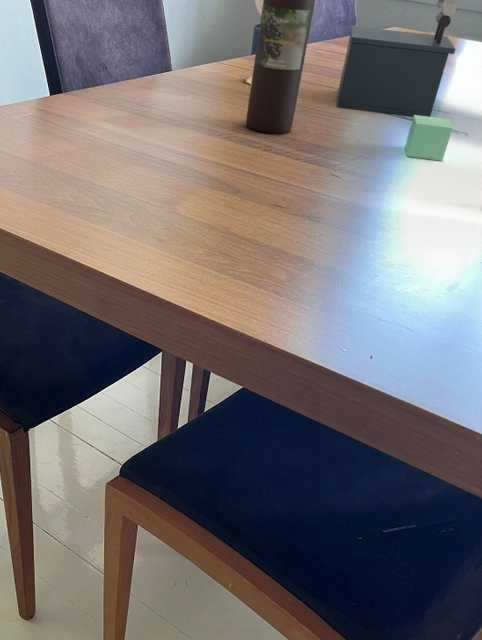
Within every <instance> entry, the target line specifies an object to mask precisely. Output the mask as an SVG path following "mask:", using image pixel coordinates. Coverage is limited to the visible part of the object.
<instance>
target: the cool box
mask: <svg viewBox="0 0 482 640" xmlns="http://www.w3.org/2000/svg"><path fill="white" fill-rule="evenodd" d="M448 57H449V54H447V53H439V52H430V51H421V50H413V49H404V48H395V47H387V46H378V45H369V44H360V43H352V42H351V33H350V34H349V38H348V44H347V48H346V53H345V58H344V62H343V66H342V71H341V77H340V81H339V86H338V89H337V92H338V93H337V104H336V107H337V108H344V109H352V110H360V111H367V112H375V113H383V114H391V115H398V116H405V117H406V116H407V117H413V116H414V115H419V116H427V117H432V116H431V115H432V113H433V110H434V105H435V102H436V99H437V95H438V93H439V89H440V85H441V82H442V79H443V76H444V71H445V67H446V65H447V62H448V59H449V58H448Z"/></svg>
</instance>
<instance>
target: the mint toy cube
mask: <svg viewBox="0 0 482 640" xmlns="http://www.w3.org/2000/svg"><path fill="white" fill-rule="evenodd" d="M452 132H453V126H452V123H451V121H450V119H449V118H441V117H434V116H430V117H427V116H419V115H414V116H412V120H411V123H410V127H409V131H408V134H407V138H406V142H405V144H404V149H405V154H406V157H409V158H418V159H423V160H424V159H426V160H433V161H440V162H443V160H444V157H445V154H446V151H447V147H448V144H449V142H450V139H451V135H452Z"/></svg>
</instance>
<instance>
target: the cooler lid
mask: <svg viewBox="0 0 482 640" xmlns="http://www.w3.org/2000/svg"><path fill="white" fill-rule="evenodd" d="M435 22H436V23H437V25H436V30H435V33H434V34H427V33H420V32H409V31H402V30H393V29H382V28H376V27H375V28H374V27H366V26H365V27H364V26H355V25H352V26H351V30H350V34H351V42H352V43H360V44H369V45H378V46H387V47H395V48H404V49H413V50H421V51H430V52H439V53H447V54H448V55H455V51H456V47H455V45H454V44H453V43H452V41H451V40H450V38H449V37H448V36H445V35H444V33H445V29H446V28H448V27H449V26H450V24H451V22H452V20H451V16H448V15H444V14H443V12H442V11H439V12H438V13H437V14H436V16H435Z"/></svg>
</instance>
